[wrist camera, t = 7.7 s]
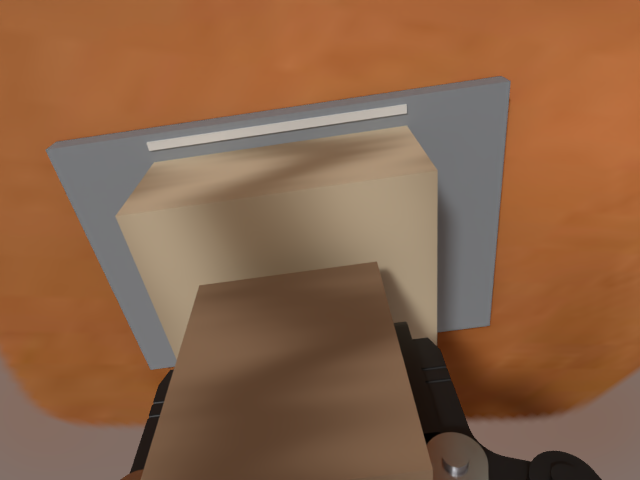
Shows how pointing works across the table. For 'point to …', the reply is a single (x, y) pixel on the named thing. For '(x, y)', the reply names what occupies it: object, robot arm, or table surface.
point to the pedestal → (289, 221)
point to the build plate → (298, 125)
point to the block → (290, 385)
